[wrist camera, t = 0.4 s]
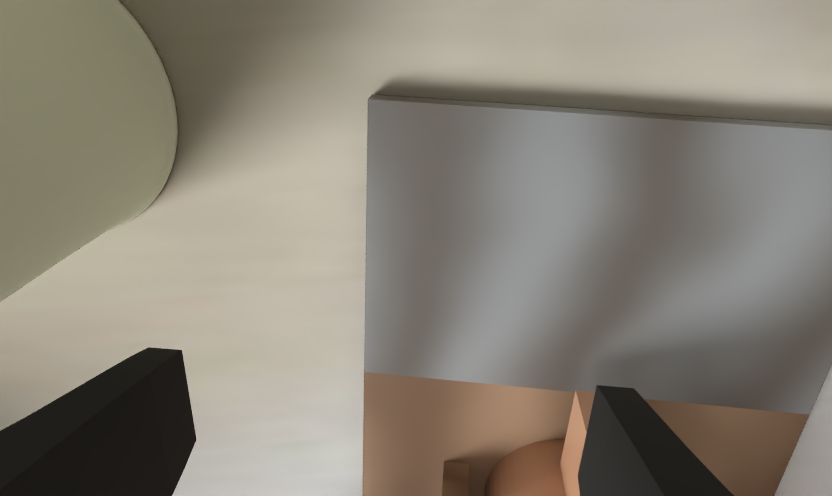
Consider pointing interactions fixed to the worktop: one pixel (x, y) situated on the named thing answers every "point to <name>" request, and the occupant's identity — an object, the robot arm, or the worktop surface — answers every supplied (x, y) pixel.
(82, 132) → the can
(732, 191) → the cradle
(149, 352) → the robot arm
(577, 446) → the capsule with rectangular tab
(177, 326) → the worktop surface
